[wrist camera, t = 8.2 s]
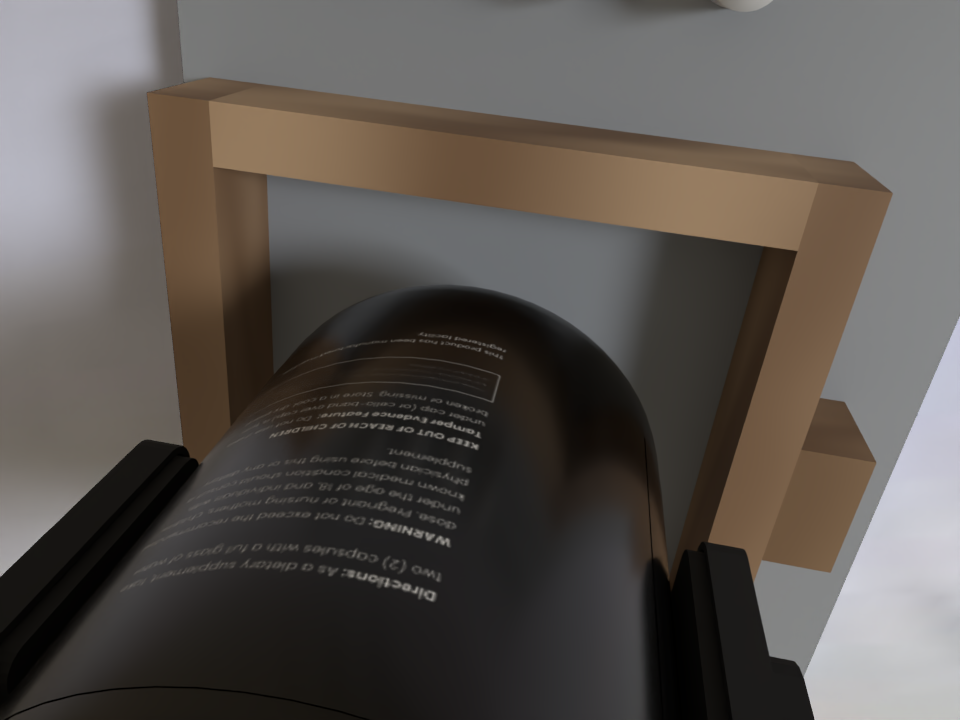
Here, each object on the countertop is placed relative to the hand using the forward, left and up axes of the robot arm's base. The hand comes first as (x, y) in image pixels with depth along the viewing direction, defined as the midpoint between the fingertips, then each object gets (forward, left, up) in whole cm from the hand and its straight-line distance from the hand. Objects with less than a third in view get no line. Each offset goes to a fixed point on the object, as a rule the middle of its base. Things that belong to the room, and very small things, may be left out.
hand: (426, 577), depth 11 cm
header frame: (0, 0, -5) cm, 5 cm away
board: (-1, -1, -6) cm, 7 cm away
